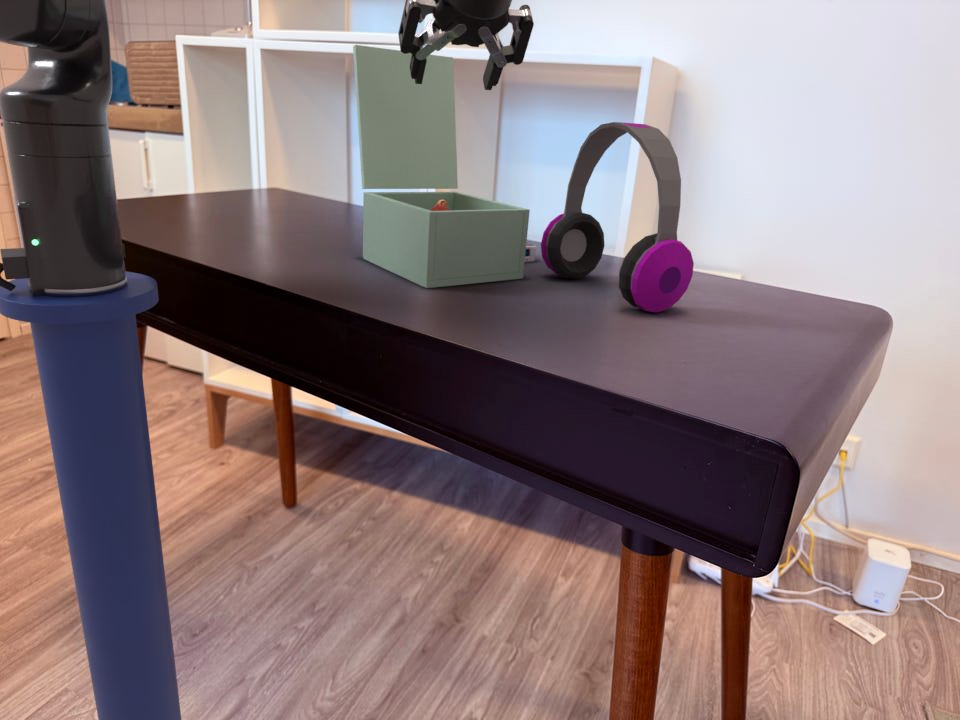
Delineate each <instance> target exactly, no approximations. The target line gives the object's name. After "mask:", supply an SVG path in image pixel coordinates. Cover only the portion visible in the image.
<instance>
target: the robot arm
mask: <svg viewBox="0 0 960 720" xmlns="http://www.w3.org/2000/svg"><path fill="white" fill-rule="evenodd" d="M512 3H513V0H405V2H404V7H403V10H402V17H401V19H400V24H399V27H398V33H397V34H398V42H399V49H400V50H399V51H401V52H402V53H404V54H408V53H411V54H412V56H411V61H410V73H411V78H412V79H415V84H422V81H423V76H424V71H425V67H426V62H427V59H426V57H427V56H429V55H432V53H434V52H435V51H436V52H439V51H441V50H443V48H444V47H446V46H448V44H450V43H451V45H452V46H464V45H465V46H469V47H471V48H479V47H480V46H482V45H484V46H485V47H486V50H487V51H488V53H489V56H488V60H487V63H486V66H485V69H484V72H483V76H482V82H483V88H484V90H485V91H492V90H493V87H496V86H497V85H498V84H499V81H500V78H501V76H502V72H503V70H504V68H505V67H506V66H507V64H511V63H513V65H516V66H517V65H518V66H519V65H521V64H523V62H524V59H525V55H526V52H527V48H528V45H529V42H530V39H531V36H532V32H533V29H534V25H535V23H534V19H533V15H532V11H531V7H530V6H529V5H528V4H522V5H521V6H519V9H513V8H510V7H511V5H512ZM430 14H432V16H433V17H432V18H431V19H430V20H428V22H427V23H426V26H425V28H424V29H422V30H421V31H420V32H419V33H418V34H417V35H416V33H417V30H418V26H419V24H423V22H424V20H425V19H426V17H427V16H428V15H430ZM509 24H511V28H512V35H511V39H510V42H509V45H504V44H503V43H502V41H501V38H500V37H499V33H500V32H502V30H504V29H505V28H506V27H507V26H508V25H509ZM440 31H441V32H440ZM110 35H111V34H110V23H109V15H108V8H107V3H106V0H0V43H2V44H3V43H4V44H6V45H13V46H17V47H25V48H27V59H28V61H27V63H28V64H27V69H26V71H25V73H24V74H23V75H22V76H21V77H20V78H19V79H18V80H17V81H15V82H13V83H11V84H8V85H7V86H4V87H3V88H2V89H0V118H1V119H2V120H1V122H2V128H3V135H4V140H5V146H6V152H7V157H8V158H7V159H8V164H9V170H10V175H11V182H12V187H13V194H14V197H13V201H14V206H15V212H16V219H17V224H18V229H19V236H20V242H21V247H15V248H0V256H1V257H0V258H1V262H0V286H1V287H3V288H5V289H7V290H9V291H12V290H13V289H14V288H15V287H16V286H15V285H14V284H12V283H10V282H9V280H14V279H23V278H28V285H29V290H30V291H31V293H32V296H34V297H36V296H54V297H82V296H93V295H100V294H106V293H110V292H114V291H117V290H120V289H122V288H124V287H126V286H127V284H128V282H127V276H126V274H125V271H126V264H125V258H126V256H127V255H126V247H125V243H123V240H122V239H123V238H122V230H121V223H120V214H119V213H120V212H119V205H118V195H117V187H116V181H115V180H116V179H115V171H114V170H115V169H114V162H113V155H112V154H113V153H112V145H111V137H110V129H109V121H108V107H109V105H110V102H111V99H112V94H113V69H112V54H111V53H112V52H111V51H112V50H111V36H110ZM3 272H4V278H3V277H2V273H3Z"/></svg>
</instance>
